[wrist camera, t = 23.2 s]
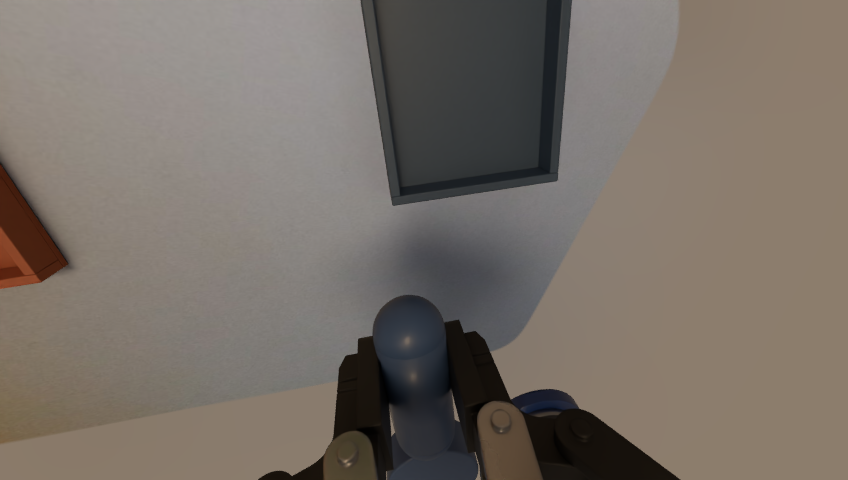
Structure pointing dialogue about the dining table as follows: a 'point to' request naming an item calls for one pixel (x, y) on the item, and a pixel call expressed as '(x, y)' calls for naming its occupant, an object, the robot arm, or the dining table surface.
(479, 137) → the dark grey tray
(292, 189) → the dining table surface
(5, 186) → the red tray
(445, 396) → the blue spoon
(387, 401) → the robot arm
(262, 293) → the dining table surface
